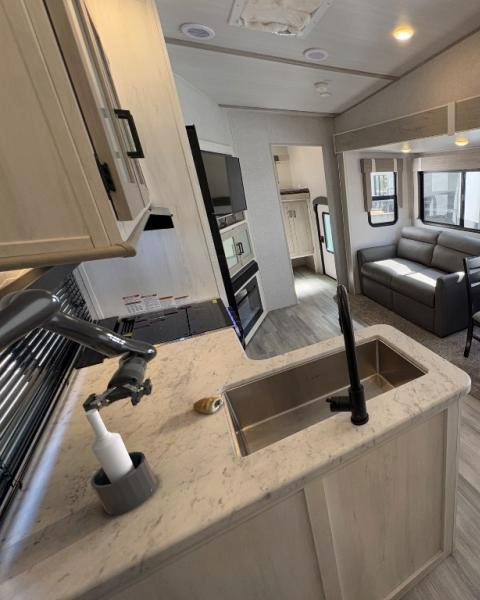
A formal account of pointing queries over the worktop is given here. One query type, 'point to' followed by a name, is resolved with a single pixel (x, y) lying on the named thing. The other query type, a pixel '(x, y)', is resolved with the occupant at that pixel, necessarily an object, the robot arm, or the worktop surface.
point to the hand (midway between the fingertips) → (113, 409)
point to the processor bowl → (125, 486)
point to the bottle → (109, 449)
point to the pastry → (208, 404)
